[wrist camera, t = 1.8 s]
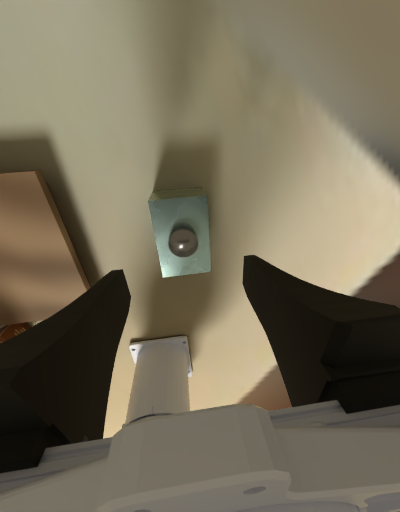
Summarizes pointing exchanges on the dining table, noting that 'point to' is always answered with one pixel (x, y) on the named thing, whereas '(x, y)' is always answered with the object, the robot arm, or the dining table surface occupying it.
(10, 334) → the food container
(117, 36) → the dining table surface
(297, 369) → the robot arm
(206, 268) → the block
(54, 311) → the stand
